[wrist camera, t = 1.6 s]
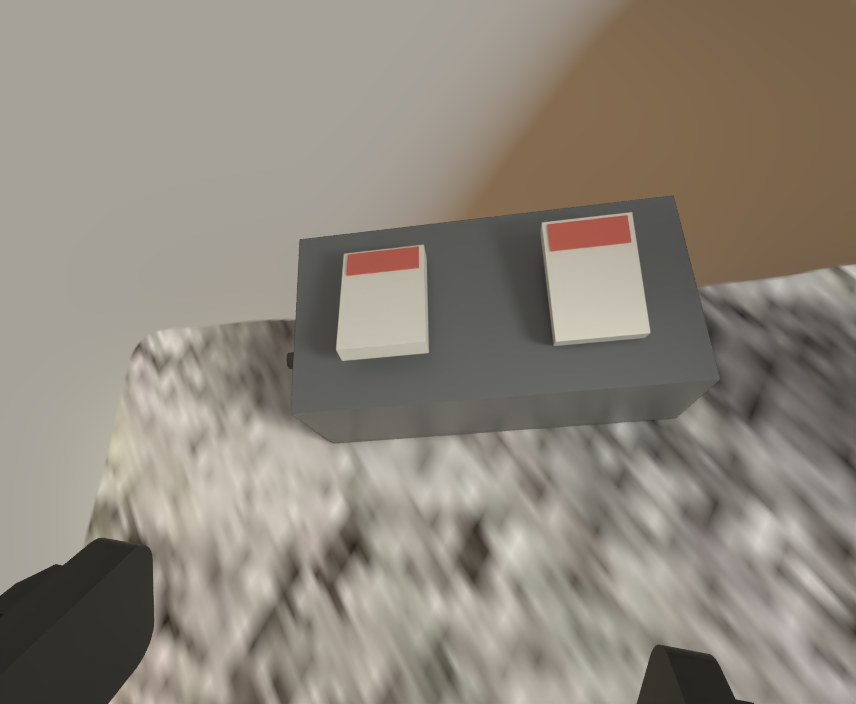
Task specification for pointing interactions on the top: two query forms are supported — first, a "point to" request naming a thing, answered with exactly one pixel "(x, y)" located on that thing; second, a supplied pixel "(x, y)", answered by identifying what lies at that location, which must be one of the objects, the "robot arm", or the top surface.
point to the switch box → (499, 336)
